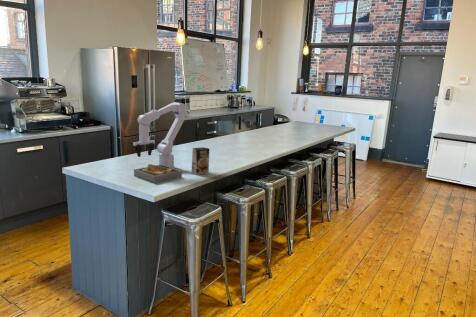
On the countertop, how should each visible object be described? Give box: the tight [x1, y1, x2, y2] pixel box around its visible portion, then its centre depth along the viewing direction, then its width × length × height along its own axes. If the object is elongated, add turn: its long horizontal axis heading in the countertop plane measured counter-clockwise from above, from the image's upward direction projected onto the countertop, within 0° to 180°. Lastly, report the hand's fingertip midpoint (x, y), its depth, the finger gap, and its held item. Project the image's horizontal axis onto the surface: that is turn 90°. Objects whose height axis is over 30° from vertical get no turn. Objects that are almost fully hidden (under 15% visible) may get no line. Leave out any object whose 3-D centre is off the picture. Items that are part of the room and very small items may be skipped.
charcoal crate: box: [133, 164, 183, 184], centre depth 216 cm, size 20×20×4 cm
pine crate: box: [141, 163, 173, 176], centre depth 216 cm, size 13×13×6 cm
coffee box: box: [191, 146, 210, 176], centre depth 227 cm, size 9×6×16 cm
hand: (144, 155), depth 227 cm, fingers open, 7 cm apart
